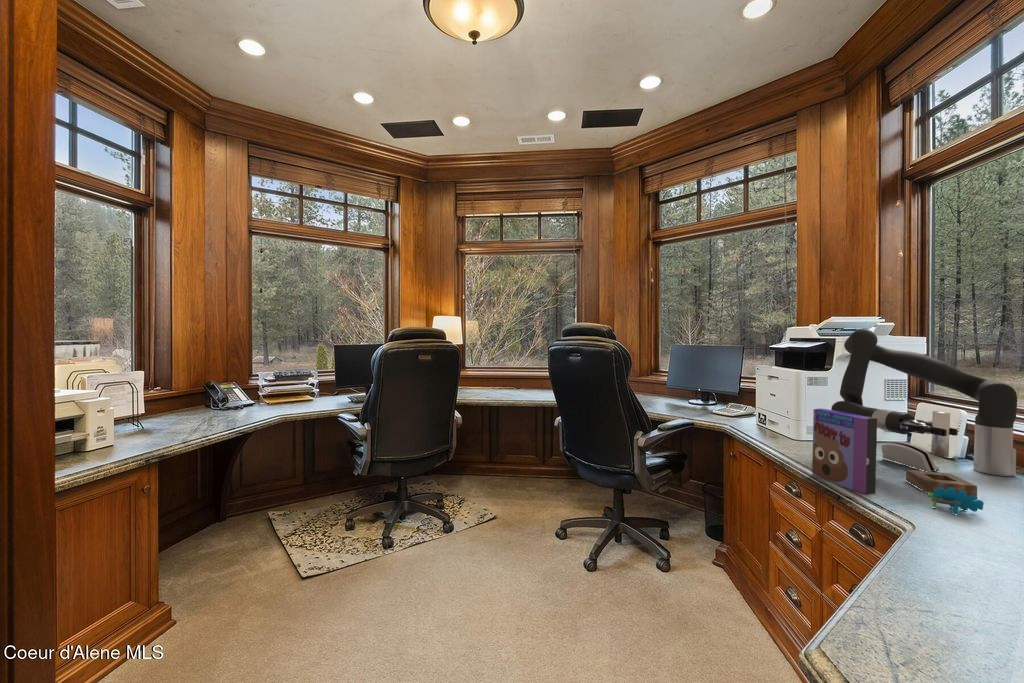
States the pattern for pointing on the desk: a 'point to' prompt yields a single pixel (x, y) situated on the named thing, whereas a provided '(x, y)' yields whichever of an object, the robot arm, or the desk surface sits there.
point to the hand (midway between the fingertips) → (951, 432)
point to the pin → (939, 442)
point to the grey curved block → (908, 455)
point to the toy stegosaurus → (955, 499)
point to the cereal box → (845, 449)
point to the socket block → (939, 482)
